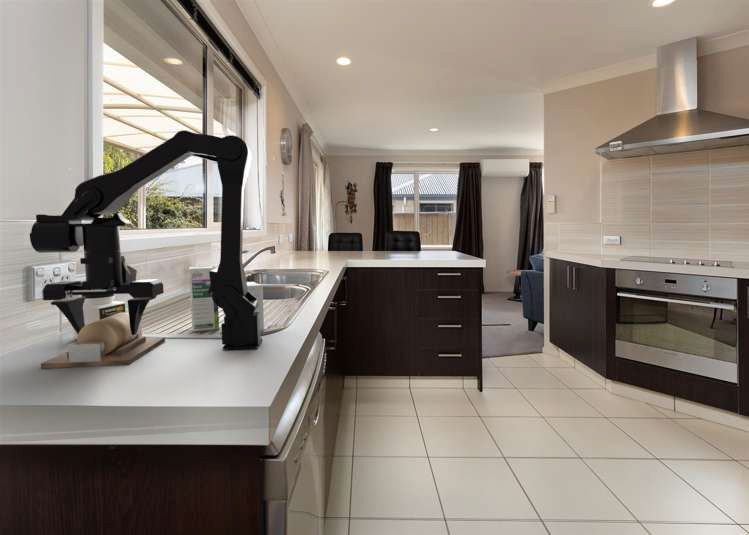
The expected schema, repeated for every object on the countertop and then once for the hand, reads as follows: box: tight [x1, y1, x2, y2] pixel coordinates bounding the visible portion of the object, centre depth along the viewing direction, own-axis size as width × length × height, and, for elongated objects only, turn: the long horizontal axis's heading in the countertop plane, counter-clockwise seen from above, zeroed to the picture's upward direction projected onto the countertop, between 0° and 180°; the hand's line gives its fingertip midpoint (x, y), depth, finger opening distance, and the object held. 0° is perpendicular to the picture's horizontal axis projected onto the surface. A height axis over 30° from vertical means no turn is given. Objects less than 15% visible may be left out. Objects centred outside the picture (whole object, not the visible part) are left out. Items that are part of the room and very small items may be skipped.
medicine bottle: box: [72, 286, 126, 340], centre depth 95 cm, size 7×7×12 cm
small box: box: [246, 281, 265, 332], centre depth 100 cm, size 8×6×10 cm
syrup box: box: [188, 265, 220, 333], centre depth 101 cm, size 6×6×14 cm
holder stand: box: [40, 323, 166, 369], centre depth 81 cm, size 14×16×4 cm
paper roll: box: [76, 312, 139, 354], centre depth 81 cm, size 6×10×6 cm, turn 6°
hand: (108, 335), depth 81 cm, fingers open, 9 cm apart
